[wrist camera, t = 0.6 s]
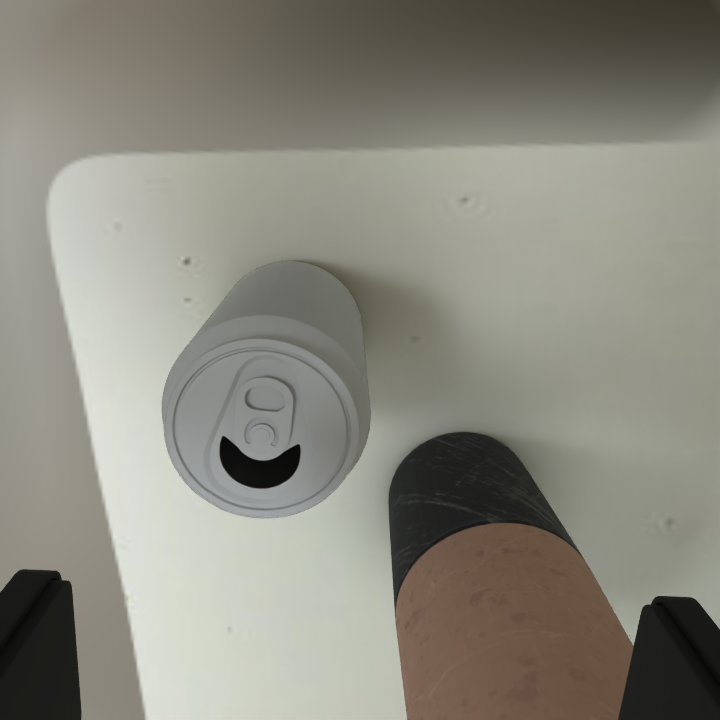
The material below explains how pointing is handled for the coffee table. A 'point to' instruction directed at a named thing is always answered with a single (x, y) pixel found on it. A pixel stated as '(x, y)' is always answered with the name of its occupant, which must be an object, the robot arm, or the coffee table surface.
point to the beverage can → (271, 394)
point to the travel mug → (495, 594)
